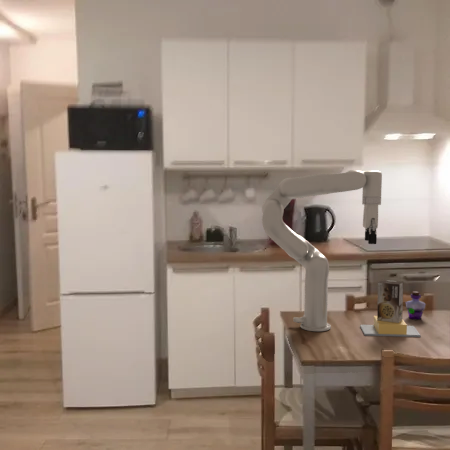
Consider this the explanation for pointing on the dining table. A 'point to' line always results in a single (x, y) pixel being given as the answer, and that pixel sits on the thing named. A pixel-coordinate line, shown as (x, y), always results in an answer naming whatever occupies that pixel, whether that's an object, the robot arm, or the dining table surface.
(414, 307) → the potion bottle
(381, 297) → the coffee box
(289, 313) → the dining table surface
